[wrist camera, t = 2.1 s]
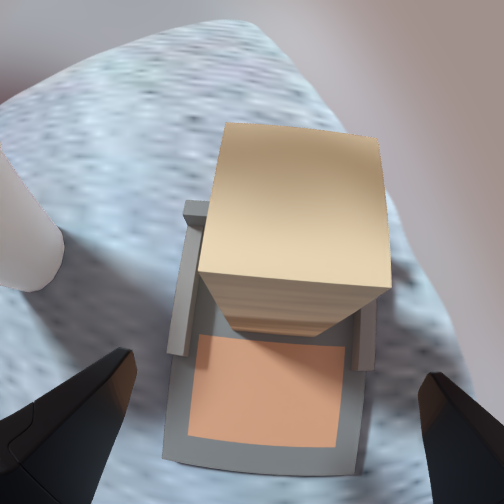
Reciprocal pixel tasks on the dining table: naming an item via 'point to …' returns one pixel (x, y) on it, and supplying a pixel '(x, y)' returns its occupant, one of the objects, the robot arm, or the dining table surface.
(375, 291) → the beech block
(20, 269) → the foam cup
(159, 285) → the dining table surface
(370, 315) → the tray
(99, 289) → the dining table surface
